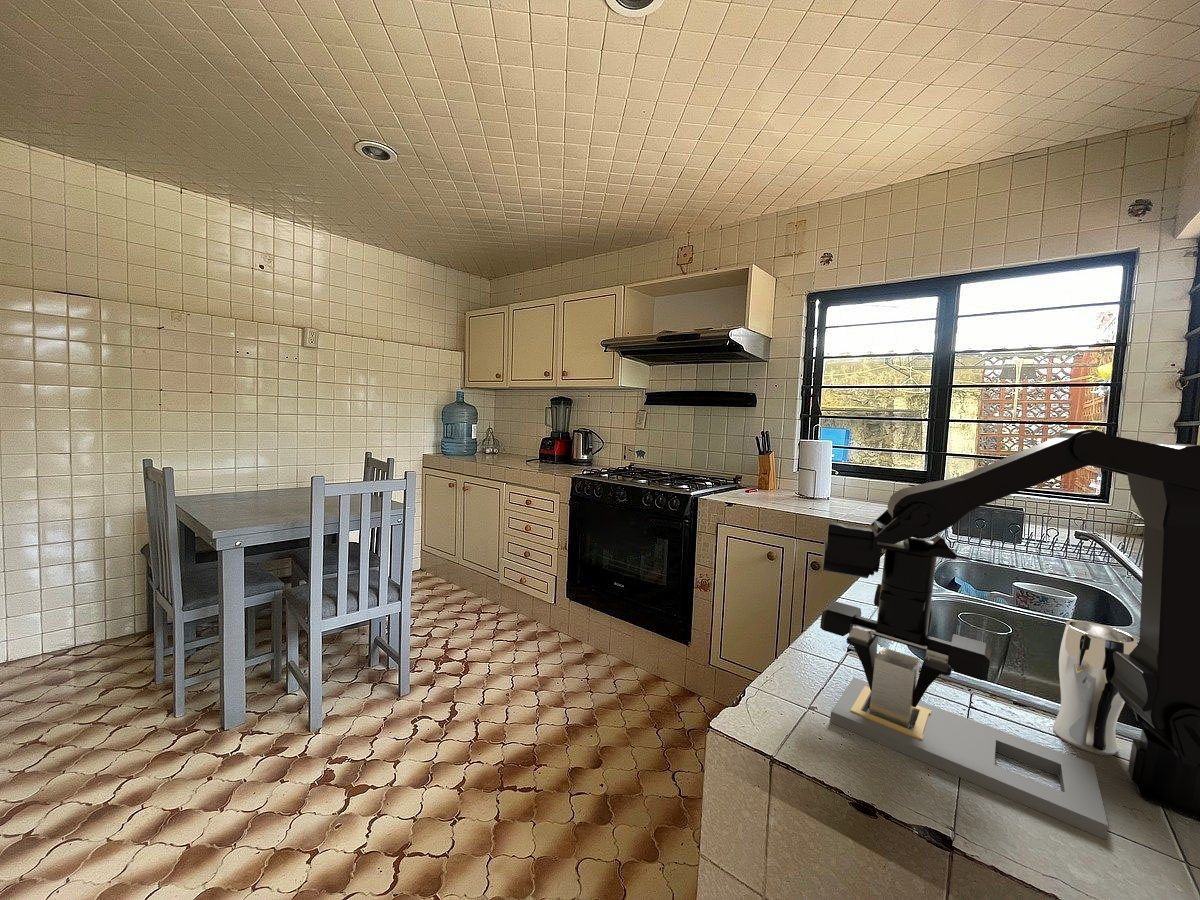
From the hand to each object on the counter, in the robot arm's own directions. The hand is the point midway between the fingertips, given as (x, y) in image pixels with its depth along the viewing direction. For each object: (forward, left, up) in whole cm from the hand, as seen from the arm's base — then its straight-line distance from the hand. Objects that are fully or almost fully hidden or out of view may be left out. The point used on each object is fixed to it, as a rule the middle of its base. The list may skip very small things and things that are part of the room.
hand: (893, 697), depth 67 cm
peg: (0, 0, -2) cm, 2 cm away
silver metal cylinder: (-20, -15, -4) cm, 25 cm away
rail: (-7, 0, -4) cm, 8 cm away
